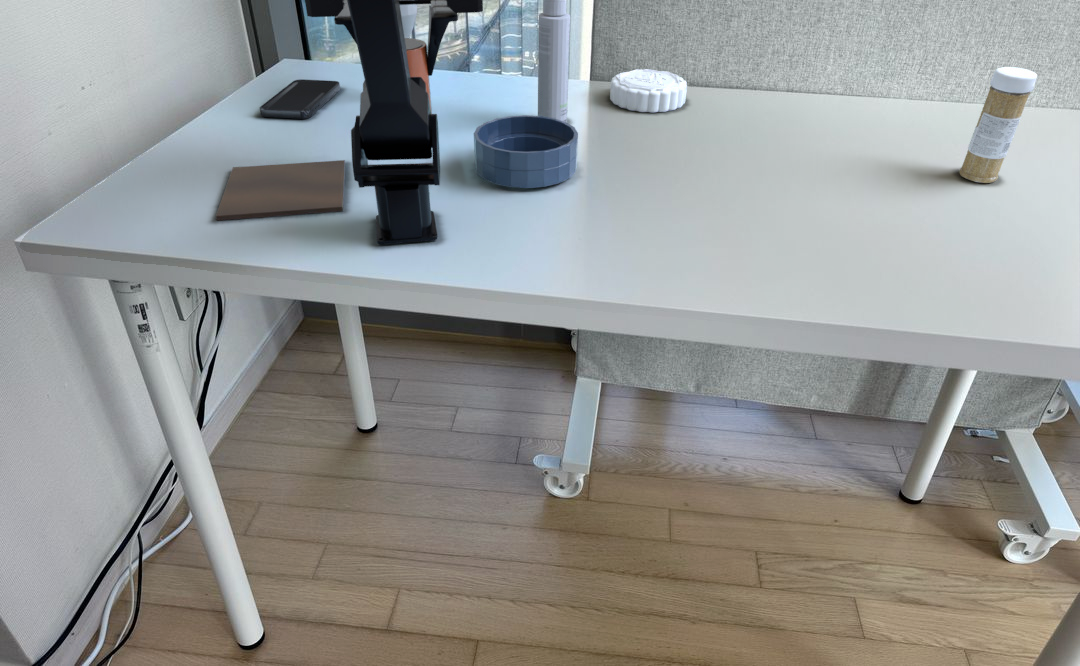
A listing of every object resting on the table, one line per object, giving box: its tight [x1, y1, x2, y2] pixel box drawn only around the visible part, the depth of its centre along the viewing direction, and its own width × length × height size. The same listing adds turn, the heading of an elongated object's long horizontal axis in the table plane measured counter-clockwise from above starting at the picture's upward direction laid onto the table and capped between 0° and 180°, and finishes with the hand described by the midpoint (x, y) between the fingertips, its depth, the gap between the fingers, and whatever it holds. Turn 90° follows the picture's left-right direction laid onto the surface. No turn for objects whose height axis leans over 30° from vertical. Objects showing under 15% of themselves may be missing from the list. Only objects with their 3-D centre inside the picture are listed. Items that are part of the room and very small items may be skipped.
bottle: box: [537, 0, 571, 123], centre depth 106 cm, size 4×4×20 cm
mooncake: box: [609, 68, 688, 114], centre depth 119 cm, size 12×12×4 cm
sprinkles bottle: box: [958, 66, 1038, 184], centre depth 93 cm, size 5×5×14 cm
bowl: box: [473, 114, 579, 189], centre depth 96 cm, size 13×13×5 cm
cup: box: [405, 37, 433, 114], centre depth 87 cm, size 6×6×8 cm
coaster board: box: [215, 159, 346, 221], centre depth 91 cm, size 14×14×1 cm
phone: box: [259, 78, 341, 120], centre depth 118 cm, size 8×1×15 cm
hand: (402, 75), depth 87 cm, fingers closed on cup, 6 cm apart
